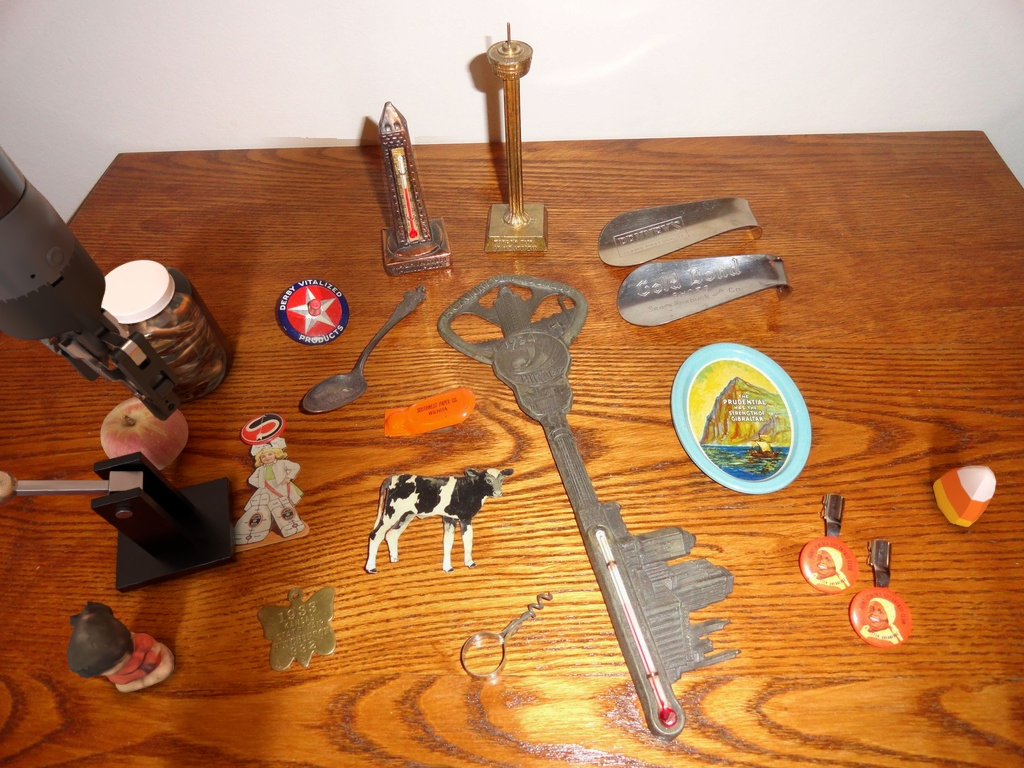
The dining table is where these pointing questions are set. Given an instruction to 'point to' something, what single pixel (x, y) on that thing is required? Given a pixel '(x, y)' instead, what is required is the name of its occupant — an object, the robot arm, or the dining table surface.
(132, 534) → the bracket
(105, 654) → the figurine
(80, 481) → the lever
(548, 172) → the dining table surface
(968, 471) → the candy corn
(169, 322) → the jar
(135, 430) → the apple
